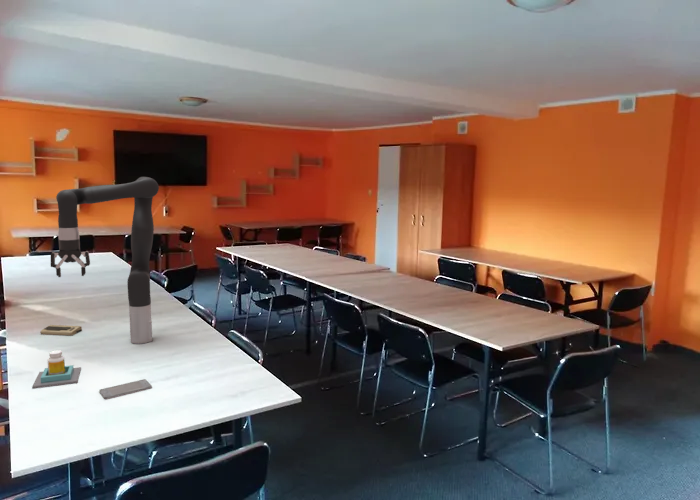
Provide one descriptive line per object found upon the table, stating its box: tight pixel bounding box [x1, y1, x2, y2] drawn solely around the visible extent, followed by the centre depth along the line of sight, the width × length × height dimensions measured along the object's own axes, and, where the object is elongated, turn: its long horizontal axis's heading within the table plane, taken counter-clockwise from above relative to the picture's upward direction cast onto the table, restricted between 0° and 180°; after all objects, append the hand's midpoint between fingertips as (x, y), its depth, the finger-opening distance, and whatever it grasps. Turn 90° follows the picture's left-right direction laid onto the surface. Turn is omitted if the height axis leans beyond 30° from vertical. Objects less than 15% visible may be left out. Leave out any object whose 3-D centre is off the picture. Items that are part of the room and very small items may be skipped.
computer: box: [40, 324, 83, 337], centre depth 235 cm, size 16×8×3 cm, turn 85°
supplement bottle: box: [47, 349, 66, 376], centre depth 183 cm, size 5×5×10 cm
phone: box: [98, 378, 153, 401], centre depth 175 cm, size 8×16×1 cm, turn 129°
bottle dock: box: [31, 364, 82, 389], centre depth 183 cm, size 14×14×3 cm
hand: (71, 276), depth 206 cm, fingers open, 8 cm apart
